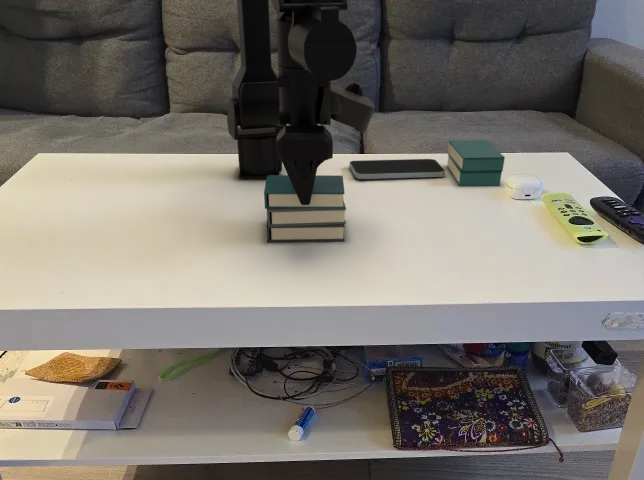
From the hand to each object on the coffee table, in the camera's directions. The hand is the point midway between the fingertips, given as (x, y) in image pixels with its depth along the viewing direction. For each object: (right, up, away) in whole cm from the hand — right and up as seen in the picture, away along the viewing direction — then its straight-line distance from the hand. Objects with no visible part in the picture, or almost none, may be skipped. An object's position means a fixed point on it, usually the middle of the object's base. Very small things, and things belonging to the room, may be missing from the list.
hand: (304, 195), depth 86 cm
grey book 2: (0, -4, +3) cm, 5 cm away
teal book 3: (+26, +10, +23) cm, 37 cm away
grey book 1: (0, -2, +2) cm, 3 cm away
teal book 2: (+26, +11, +22) cm, 36 cm away
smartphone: (+14, +10, +24) cm, 30 cm away
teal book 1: (0, -1, 0) cm, 1 cm away
